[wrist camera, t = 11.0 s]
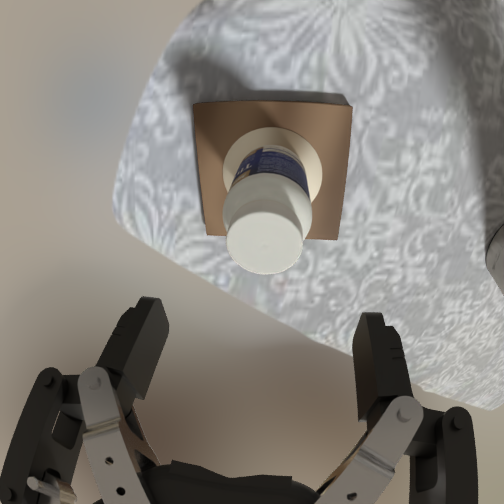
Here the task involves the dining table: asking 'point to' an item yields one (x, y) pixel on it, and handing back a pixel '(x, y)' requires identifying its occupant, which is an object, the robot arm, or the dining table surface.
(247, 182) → the pill bottle
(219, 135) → the rest board
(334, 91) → the dining table surface
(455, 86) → the dining table surface
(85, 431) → the robot arm
